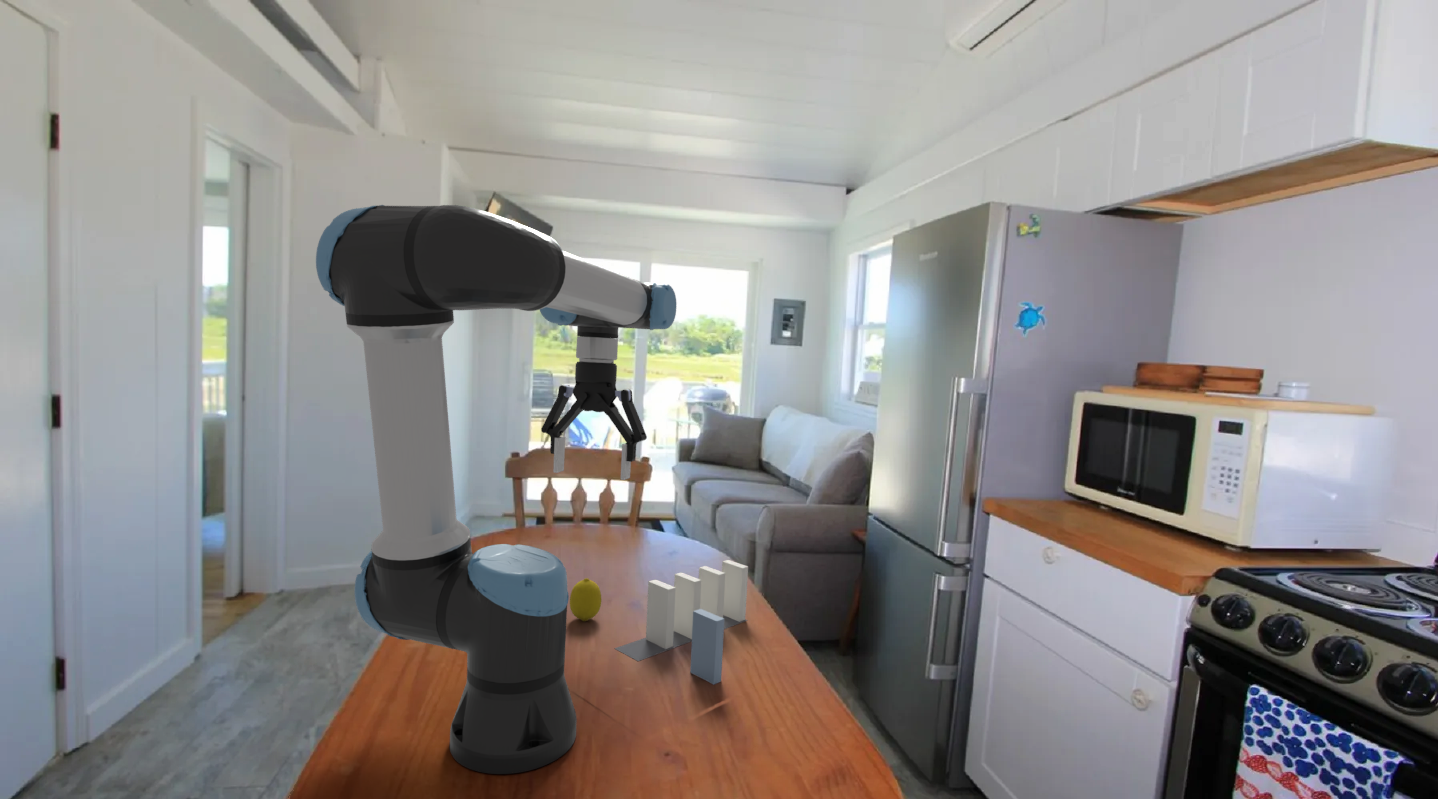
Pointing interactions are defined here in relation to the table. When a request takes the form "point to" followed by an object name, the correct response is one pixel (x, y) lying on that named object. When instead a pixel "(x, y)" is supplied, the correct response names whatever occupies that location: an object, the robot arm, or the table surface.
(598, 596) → the lemon
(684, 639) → the strip
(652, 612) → the tile
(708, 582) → the tile
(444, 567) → the robot arm
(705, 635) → the blue-grey tile
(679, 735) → the table surface
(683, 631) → the tile
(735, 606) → the tile
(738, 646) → the table surface
